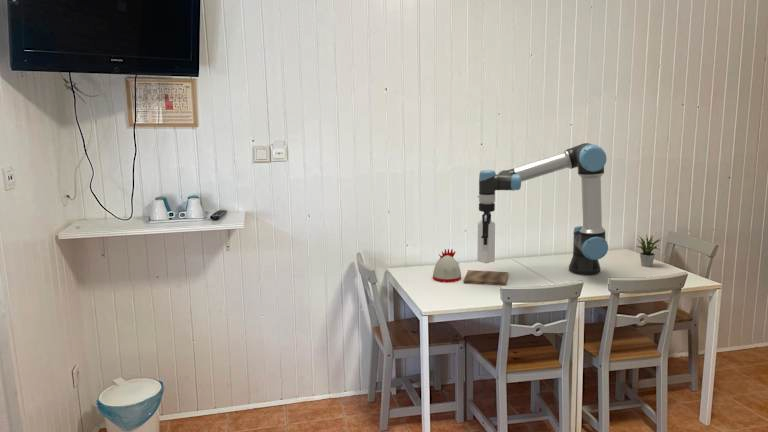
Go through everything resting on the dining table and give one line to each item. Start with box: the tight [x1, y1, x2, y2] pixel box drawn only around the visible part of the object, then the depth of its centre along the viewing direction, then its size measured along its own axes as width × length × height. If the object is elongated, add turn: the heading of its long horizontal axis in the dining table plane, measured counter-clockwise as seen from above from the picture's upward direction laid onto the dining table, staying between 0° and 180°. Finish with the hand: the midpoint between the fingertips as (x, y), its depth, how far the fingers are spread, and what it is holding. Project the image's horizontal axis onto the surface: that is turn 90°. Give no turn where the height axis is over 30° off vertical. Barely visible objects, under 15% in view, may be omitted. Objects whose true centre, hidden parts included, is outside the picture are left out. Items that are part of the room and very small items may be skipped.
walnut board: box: [462, 269, 509, 286], centre depth 304 cm, size 20×18×2 cm
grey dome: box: [432, 248, 462, 283], centre depth 306 cm, size 14×14×15 cm
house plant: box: [635, 234, 663, 268], centre depth 318 cm, size 14×14×16 cm
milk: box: [476, 217, 496, 264], centre depth 301 cm, size 6×6×22 cm
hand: (486, 248), depth 301 cm, fingers closed on milk, 8 cm apart
